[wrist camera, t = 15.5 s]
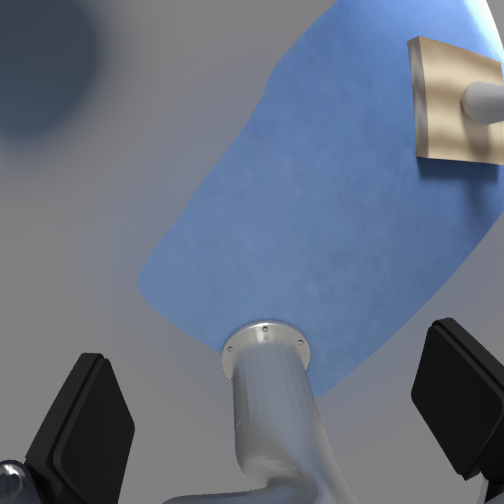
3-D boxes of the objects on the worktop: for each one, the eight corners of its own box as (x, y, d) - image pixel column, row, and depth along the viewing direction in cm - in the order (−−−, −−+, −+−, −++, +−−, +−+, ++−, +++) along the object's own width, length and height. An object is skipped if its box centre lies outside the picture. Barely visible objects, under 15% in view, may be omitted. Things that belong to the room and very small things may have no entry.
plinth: (494, 163, 37) (507, 165, 34) (416, 156, 37) (428, 158, 34) (488, 64, 32) (500, 62, 29) (407, 41, 31) (418, 35, 29)
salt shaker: (468, 75, 30) (537, 65, 18) (490, 108, 32) (558, 109, 19) (449, 99, 31) (521, 93, 19) (472, 133, 33) (543, 139, 21)
